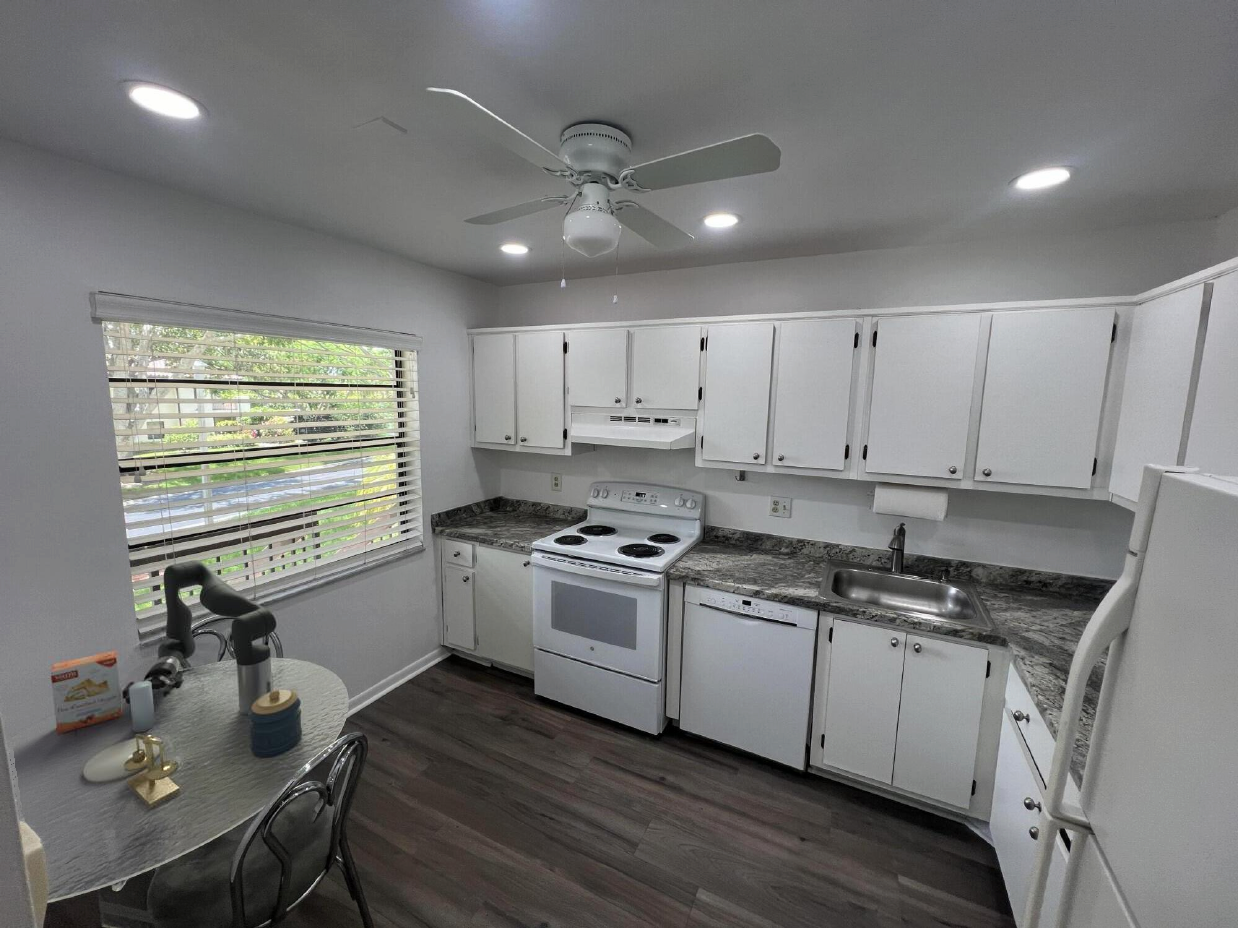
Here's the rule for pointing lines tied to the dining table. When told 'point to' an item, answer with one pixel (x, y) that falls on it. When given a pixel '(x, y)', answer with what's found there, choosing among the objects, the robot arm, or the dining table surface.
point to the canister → (275, 723)
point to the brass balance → (151, 773)
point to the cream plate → (114, 761)
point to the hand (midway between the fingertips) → (146, 697)
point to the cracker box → (86, 691)
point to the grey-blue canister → (142, 706)
